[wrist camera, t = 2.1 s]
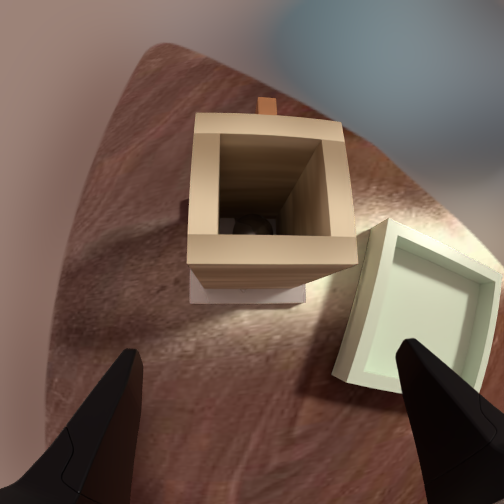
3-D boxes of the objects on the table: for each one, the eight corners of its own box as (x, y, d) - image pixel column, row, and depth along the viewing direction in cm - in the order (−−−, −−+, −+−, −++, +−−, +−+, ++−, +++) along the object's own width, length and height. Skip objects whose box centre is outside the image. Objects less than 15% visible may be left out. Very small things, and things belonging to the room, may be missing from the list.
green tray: (455, 398, 22) (475, 403, 19) (331, 374, 22) (346, 382, 19) (481, 278, 25) (502, 274, 22) (371, 228, 24) (388, 217, 21)
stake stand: (302, 303, 22) (321, 300, 18) (190, 303, 22) (183, 301, 17) (297, 198, 24) (314, 174, 20) (193, 196, 23) (188, 170, 19)
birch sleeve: (291, 288, 22) (358, 263, 11) (204, 288, 21) (186, 263, 10) (287, 186, 23) (335, 94, 12) (206, 184, 22) (199, 84, 12)
